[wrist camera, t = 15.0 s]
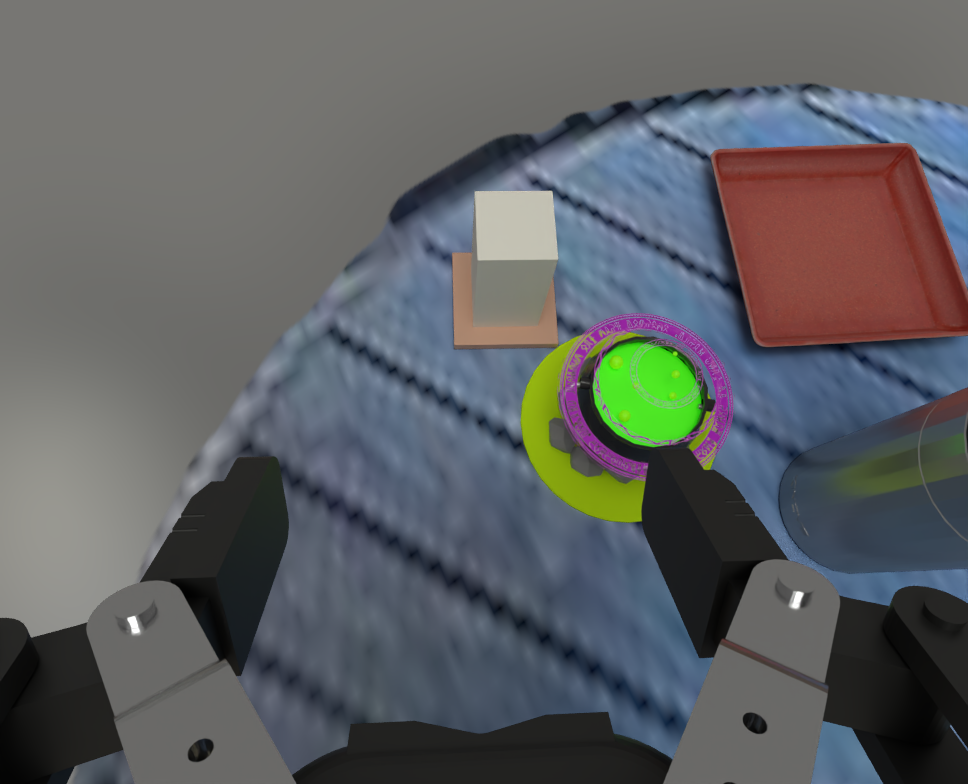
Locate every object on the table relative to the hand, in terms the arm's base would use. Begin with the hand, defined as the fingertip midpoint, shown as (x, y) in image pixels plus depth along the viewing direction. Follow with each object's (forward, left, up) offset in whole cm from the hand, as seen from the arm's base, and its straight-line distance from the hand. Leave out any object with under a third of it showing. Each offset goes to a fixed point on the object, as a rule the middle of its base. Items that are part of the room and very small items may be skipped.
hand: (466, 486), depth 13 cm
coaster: (-4, -20, -31) cm, 37 cm away
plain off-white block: (-4, -20, -30) cm, 36 cm away
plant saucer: (-31, -24, -31) cm, 50 cm away
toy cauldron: (-12, -10, -31) cm, 35 cm away
